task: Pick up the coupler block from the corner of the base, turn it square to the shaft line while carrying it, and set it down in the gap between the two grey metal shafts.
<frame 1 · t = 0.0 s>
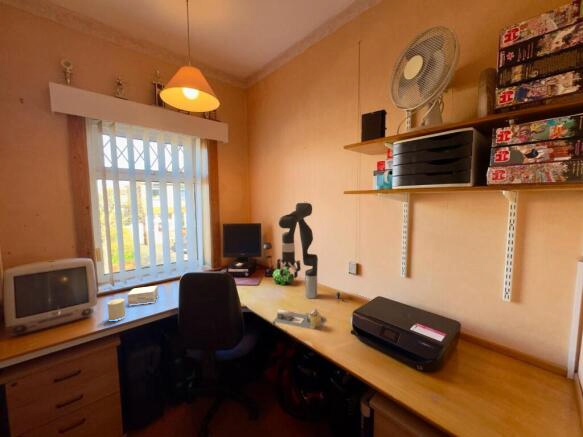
hand: (288, 277, 143), 29 cm above the table, fingers open, 8 cm apart
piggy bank: (282, 283, 217), on the table
shaft base: (300, 321, 148), on the table
supplement box: (143, 301, 183), on the table
hand tool: (359, 329, 139), on the table
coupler: (315, 326, 140), point 1 cm above the table, touching shaft base
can: (117, 318, 156), on the table
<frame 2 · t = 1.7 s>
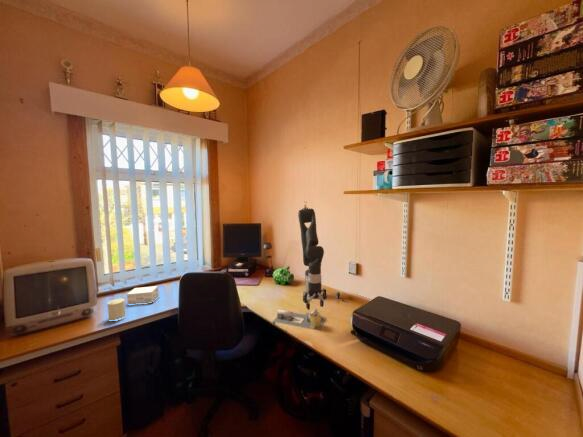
hand: (315, 307, 139), 12 cm above the table, fingers open, 8 cm apart
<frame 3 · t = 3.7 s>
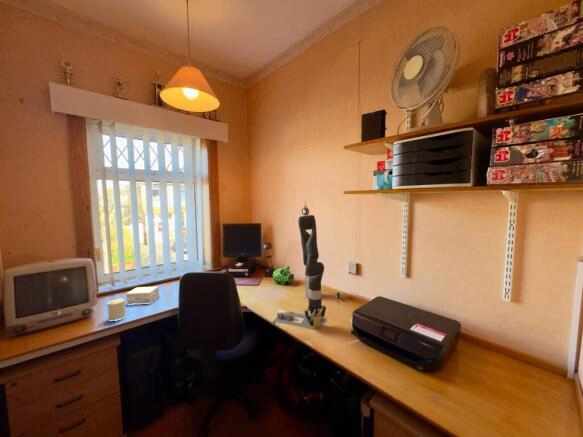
hand: (315, 324, 140), 2 cm above the table, fingers closed on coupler, 4 cm apart
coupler: (315, 326, 140), point 1 cm above the table, touching gripper, shaft base
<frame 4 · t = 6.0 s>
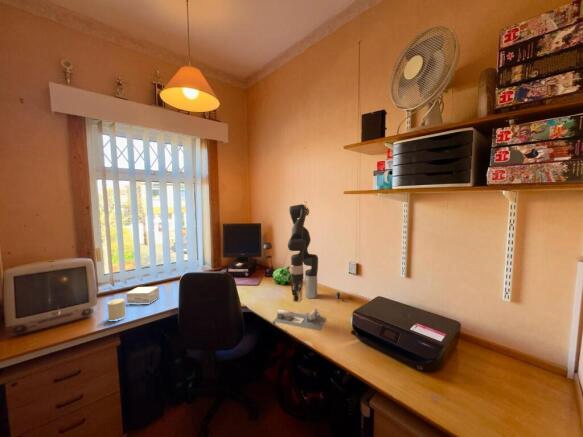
hand: (297, 299, 147), 15 cm above the table, fingers closed on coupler, 4 cm apart
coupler: (297, 300, 147), point 14 cm above the table, touching gripper
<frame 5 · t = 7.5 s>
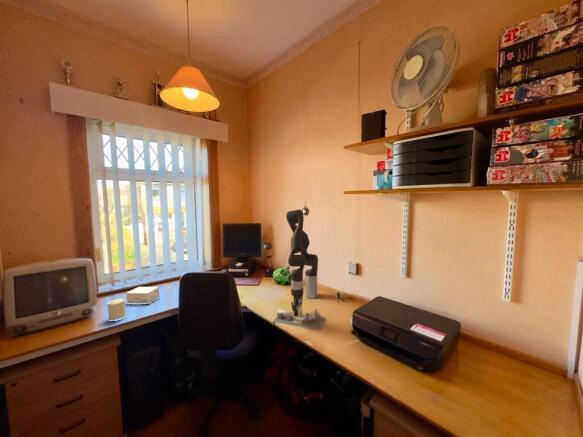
hand: (297, 314, 147), 5 cm above the table, fingers closed on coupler, 4 cm apart
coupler: (297, 315, 147), point 4 cm above the table, touching gripper
when the fingers open (4 cm above the table, at t = 8.6 s): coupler drops 1 cm, resting on shaft base.
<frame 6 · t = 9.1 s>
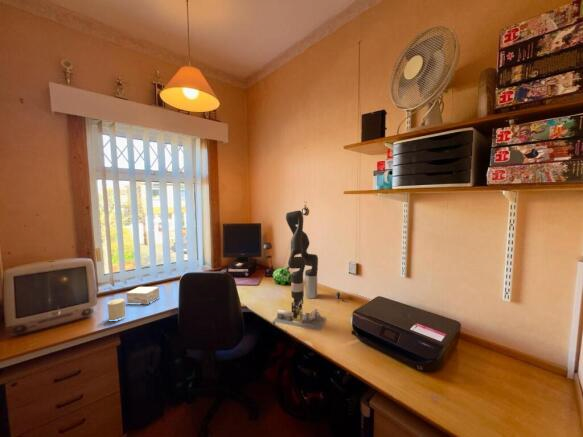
hand: (297, 314, 147), 5 cm above the table, fingers open, 8 cm apart
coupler: (297, 319, 148), point 1 cm above the table, touching shaft base
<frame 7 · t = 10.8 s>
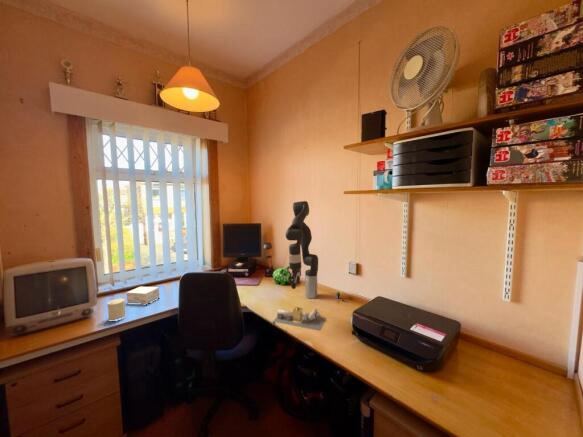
hand: (296, 285, 151), 21 cm above the table, fingers open, 8 cm apart
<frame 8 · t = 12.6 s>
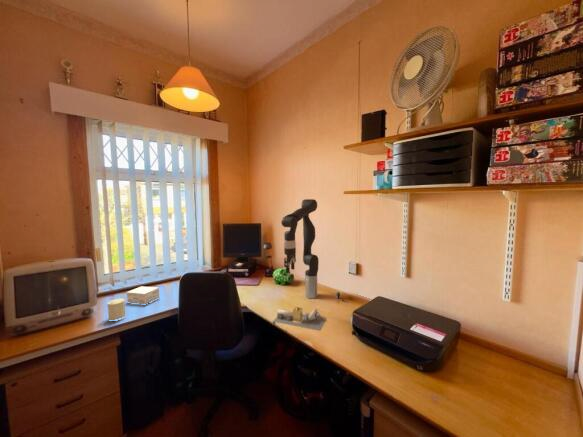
hand: (290, 271, 159), 28 cm above the table, fingers open, 8 cm apart
at the end: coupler 0.1 cm from the target spot on the shaft base, point 1.4 cm above the shaft base's base; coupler tilted 0°; the gripper is holding nothing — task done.
